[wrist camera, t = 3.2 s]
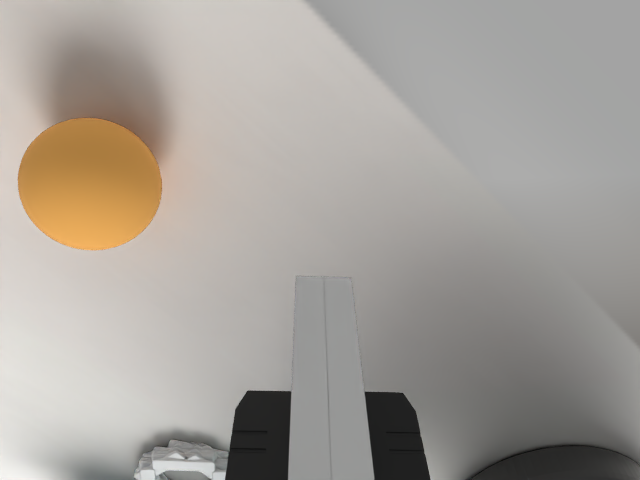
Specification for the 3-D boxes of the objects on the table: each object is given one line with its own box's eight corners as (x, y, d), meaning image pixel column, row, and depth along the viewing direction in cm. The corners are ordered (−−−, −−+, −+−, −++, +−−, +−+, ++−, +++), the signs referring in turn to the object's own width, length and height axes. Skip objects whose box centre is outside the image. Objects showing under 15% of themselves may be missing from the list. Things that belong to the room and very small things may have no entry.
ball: (168, 103, 23) (130, 149, 18) (179, 213, 26) (150, 278, 21) (41, 98, 23) (-31, 143, 18) (66, 209, 25) (11, 273, 21)
